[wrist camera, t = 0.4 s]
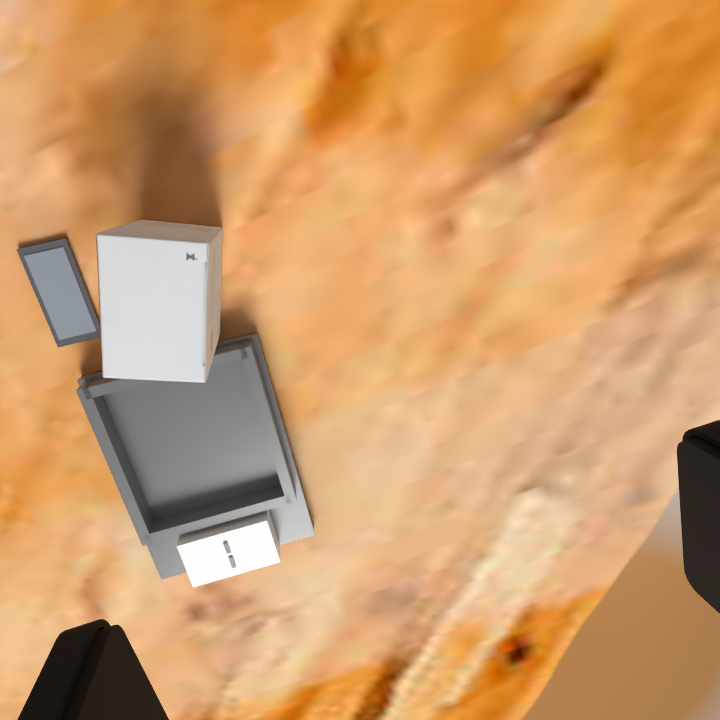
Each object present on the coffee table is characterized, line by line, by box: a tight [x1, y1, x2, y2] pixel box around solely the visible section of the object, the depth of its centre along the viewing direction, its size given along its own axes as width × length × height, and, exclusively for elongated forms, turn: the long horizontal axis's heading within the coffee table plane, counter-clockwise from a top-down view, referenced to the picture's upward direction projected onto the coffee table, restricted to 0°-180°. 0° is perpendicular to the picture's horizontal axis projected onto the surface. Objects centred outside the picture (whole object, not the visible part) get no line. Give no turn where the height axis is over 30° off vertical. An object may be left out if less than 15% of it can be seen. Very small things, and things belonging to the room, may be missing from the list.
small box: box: [96, 220, 223, 383], centre depth 33 cm, size 8×6×10 cm
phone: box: [17, 238, 101, 347], centre depth 37 cm, size 7×3×1 cm, turn 12°
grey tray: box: [76, 332, 315, 587], centre depth 41 cm, size 18×13×4 cm
